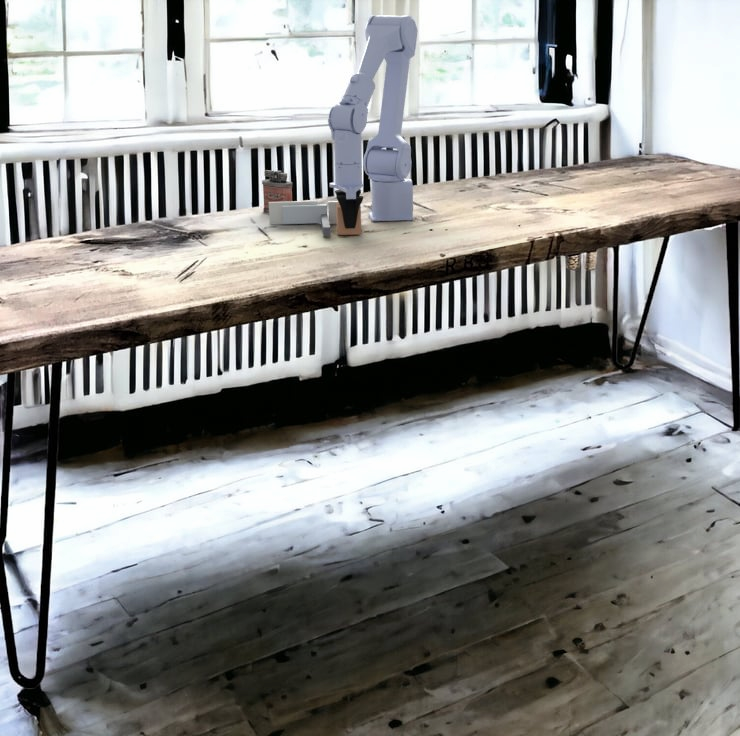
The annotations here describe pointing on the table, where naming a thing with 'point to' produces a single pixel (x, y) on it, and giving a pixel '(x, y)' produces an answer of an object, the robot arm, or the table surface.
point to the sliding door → (307, 215)
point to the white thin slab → (276, 207)
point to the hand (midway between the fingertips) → (349, 225)
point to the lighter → (276, 188)
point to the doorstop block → (341, 227)
